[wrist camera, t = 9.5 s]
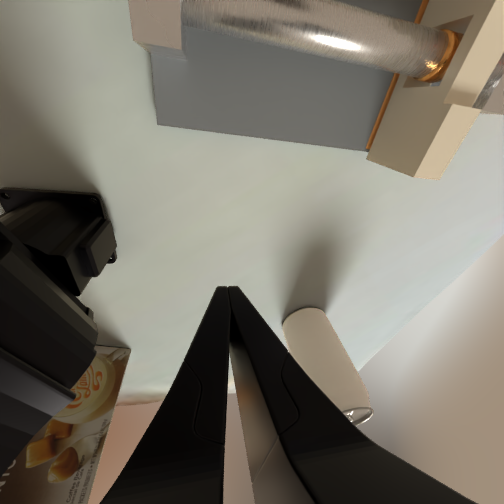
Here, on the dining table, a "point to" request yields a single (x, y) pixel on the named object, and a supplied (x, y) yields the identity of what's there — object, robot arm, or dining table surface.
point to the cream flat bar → (441, 92)
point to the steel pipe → (312, 35)
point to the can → (327, 362)
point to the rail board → (277, 88)
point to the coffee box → (69, 440)
